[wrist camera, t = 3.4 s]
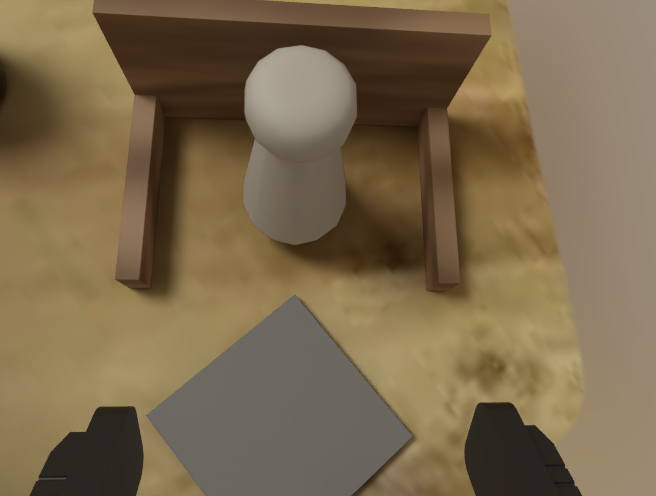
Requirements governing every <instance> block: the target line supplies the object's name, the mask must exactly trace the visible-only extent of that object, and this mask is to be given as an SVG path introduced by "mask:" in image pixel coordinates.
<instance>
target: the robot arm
mask: <svg viewBox="0 0 656 496" xmlns="http://www.w3.org/2000/svg"><path fill="white" fill-rule="evenodd" d="M143 458H144V456H143V446H142V440H141V435H140V430H139V424H138V419H137V413H136V409H135V407H133V406H126V407H98V408H97V409H96V411H95V413H94V415H93V417H92V419H91V422H90V424H89V426H88V428H87V431H86V432H70V433H69V434H68V435H67V436H66V437H65V438H64V439H63V440H62V441H61V442H60V443H59V444H58V445H57V446H56V447H55V448H54V450H53V451H52V452H51V453H50V455H49V457H48V459H47V461H46V463H45V465H44V467H43V469H42V471H41V473H40V475H39V480H38V481H36V483H35V485H34V487H33V490H32V492H31V494H30V496H136V493H137V490H138V486H139V483H140V479H141V475H142V469H143ZM465 464H466V468H467V472H468V475H469V478H470V480H471V483H472V486H473V489H474V492H475V495H476V496H582V495H581V493H580V491H579V489H578V487H577V486H576V487H575V485H574V480H573V478H572V477H571V475H570V473H569V471H568V469H566V468H565V464H564V462H563V460H562V458H561V456H560V455H559V453H558V451H557V449H556V447H555V446H554V444H553V443H552V442H551V441H550V440H549V439H548V438H547V437H546V436H545V435H544V434H543V433H542V432H541V431H540V430H539V429H538V428H537V427H536V426H535V425H524V423H523V421H522V419H521V417H520V415H519V413H518V411H517V409H516V408H515V406H514V405H513V404H512V403H509V402H499V403H479V404H478V405H477V406H476V409H475V413H474V416H473V419H472V423H471V426H470V429H469V433H468V436H467V440H466V443H465Z"/></svg>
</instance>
